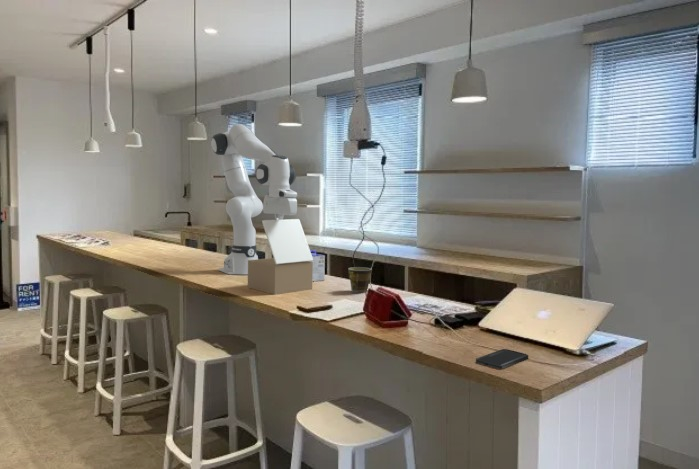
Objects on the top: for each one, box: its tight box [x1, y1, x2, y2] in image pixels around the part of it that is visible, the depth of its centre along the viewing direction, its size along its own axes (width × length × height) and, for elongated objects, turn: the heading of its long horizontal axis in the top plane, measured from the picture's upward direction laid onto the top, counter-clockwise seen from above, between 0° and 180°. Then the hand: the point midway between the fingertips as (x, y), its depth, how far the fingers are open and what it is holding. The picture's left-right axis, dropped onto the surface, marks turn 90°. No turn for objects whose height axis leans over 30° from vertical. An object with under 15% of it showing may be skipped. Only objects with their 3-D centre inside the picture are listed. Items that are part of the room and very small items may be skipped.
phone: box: [475, 348, 529, 370], centre depth 144 cm, size 8×1×15 cm
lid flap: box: [261, 218, 313, 264], centre depth 232 cm, size 20×20×1 cm
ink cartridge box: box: [310, 249, 326, 282], centre depth 259 cm, size 10×6×14 cm, turn 126°
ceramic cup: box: [347, 266, 372, 294], centre depth 232 cm, size 13×10×10 cm
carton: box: [247, 257, 313, 295], centre depth 237 cm, size 20×20×12 cm
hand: (279, 224), depth 236 cm, fingers closed
